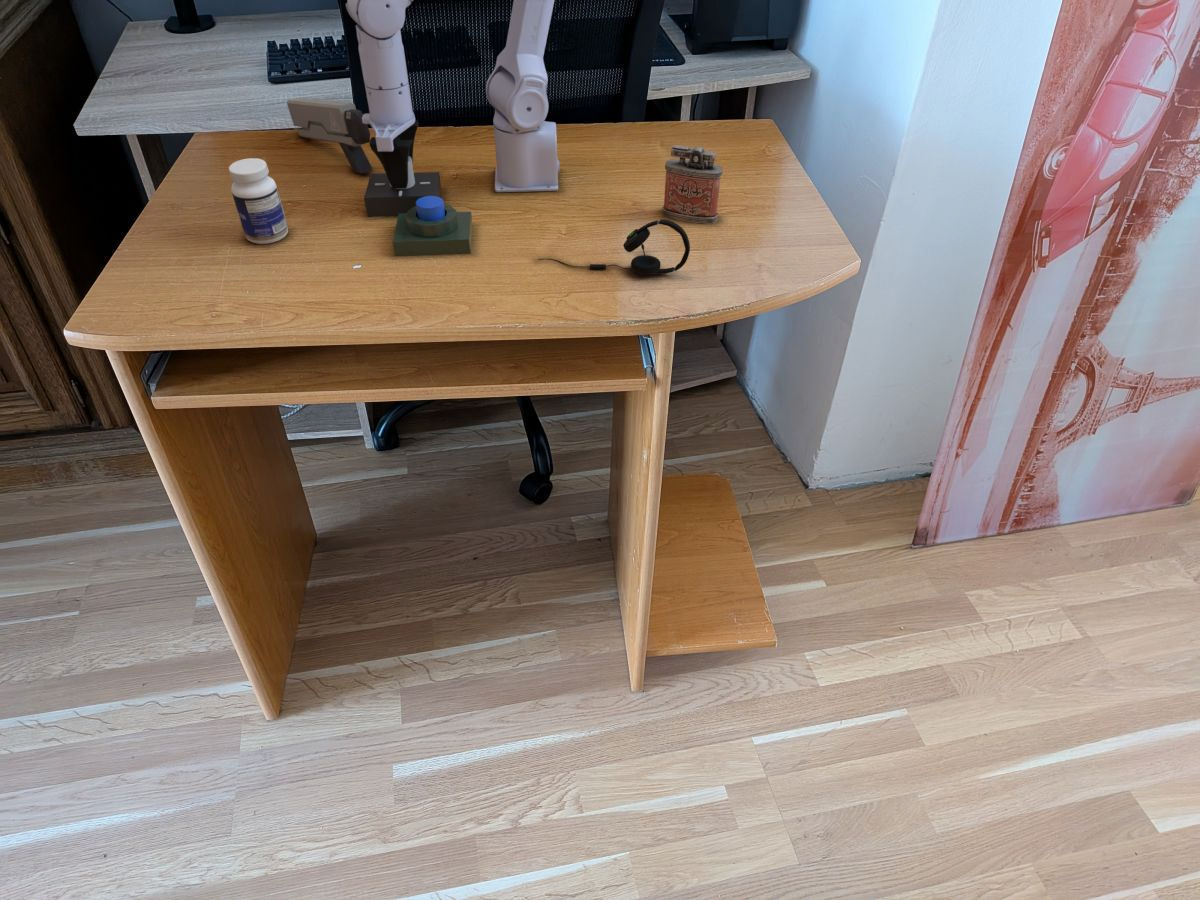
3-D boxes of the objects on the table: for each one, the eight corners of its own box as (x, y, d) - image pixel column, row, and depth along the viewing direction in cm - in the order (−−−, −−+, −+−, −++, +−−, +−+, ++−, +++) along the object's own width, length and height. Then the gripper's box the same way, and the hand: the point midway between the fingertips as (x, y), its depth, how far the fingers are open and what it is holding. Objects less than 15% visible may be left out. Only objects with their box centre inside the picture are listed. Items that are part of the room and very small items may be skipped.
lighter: (719, 215, 120) (727, 147, 113) (714, 225, 118) (721, 156, 111) (665, 206, 122) (670, 139, 115) (659, 216, 120) (663, 148, 113)
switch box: (472, 225, 117) (469, 199, 114) (470, 254, 111) (467, 226, 108) (400, 228, 116) (396, 201, 114) (394, 256, 111) (390, 228, 108)
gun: (370, 177, 126) (350, 107, 120) (304, 162, 143) (284, 100, 138) (385, 172, 127) (366, 103, 121) (317, 158, 144) (298, 96, 139)
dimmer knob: (416, 178, 121) (412, 152, 119) (413, 189, 119) (409, 162, 116) (391, 178, 121) (387, 152, 119) (388, 189, 119) (383, 162, 116)
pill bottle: (244, 229, 116) (223, 159, 109) (286, 222, 117) (268, 153, 111) (247, 248, 112) (225, 177, 105) (291, 241, 113) (272, 170, 107)
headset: (565, 281, 118) (701, 247, 110) (552, 305, 112) (693, 271, 104) (547, 237, 114) (686, 198, 106) (532, 259, 109) (677, 221, 101)
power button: (445, 209, 113) (444, 195, 111) (444, 222, 110) (442, 207, 109) (419, 210, 113) (417, 196, 111) (416, 222, 110) (414, 208, 109)
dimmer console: (441, 190, 125) (439, 170, 123) (438, 215, 119) (435, 194, 117) (374, 192, 125) (370, 172, 122) (367, 217, 119) (363, 196, 117)
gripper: (366, 64, 116) (382, 159, 125) (345, 102, 105) (364, 203, 114) (417, 64, 116) (429, 159, 125) (401, 102, 105) (416, 203, 114)
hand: (402, 180), depth 120 cm, fingers closed on dimmer knob, 3 cm apart
